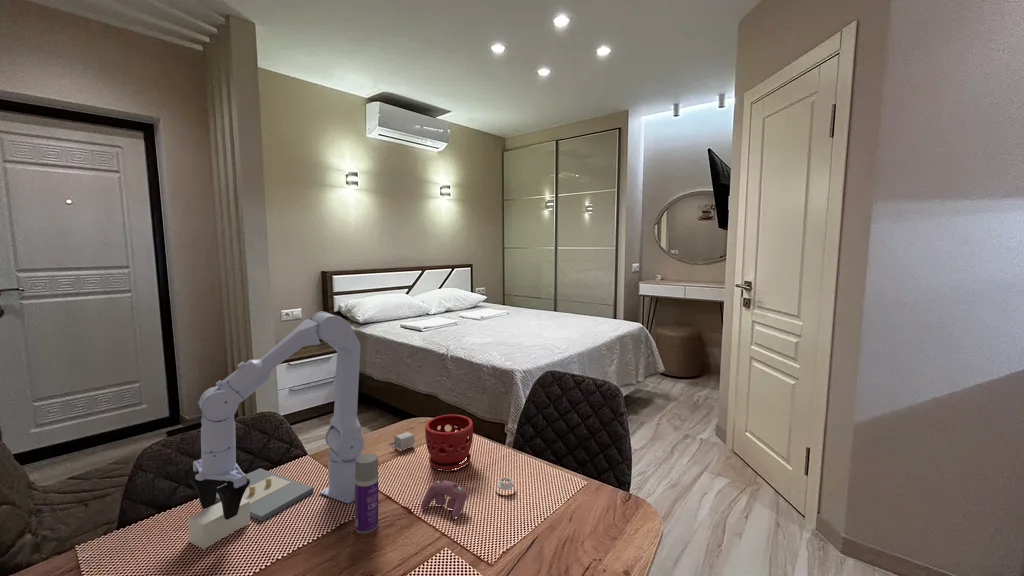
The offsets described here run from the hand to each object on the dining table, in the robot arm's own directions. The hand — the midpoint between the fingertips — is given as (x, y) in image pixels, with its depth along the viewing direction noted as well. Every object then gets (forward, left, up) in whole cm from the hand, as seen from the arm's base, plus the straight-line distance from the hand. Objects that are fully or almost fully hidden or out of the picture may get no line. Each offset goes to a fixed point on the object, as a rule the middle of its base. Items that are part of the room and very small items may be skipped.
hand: (219, 511), depth 85 cm
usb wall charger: (-7, -47, -5) cm, 48 cm away
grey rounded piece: (-45, -41, -5) cm, 61 cm away
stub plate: (+6, -13, -5) cm, 15 cm away
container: (-25, -15, -5) cm, 30 cm away
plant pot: (-25, -46, -5) cm, 53 cm away
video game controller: (-36, -28, -5) cm, 46 cm away
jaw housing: (0, 0, -5) cm, 5 cm away
